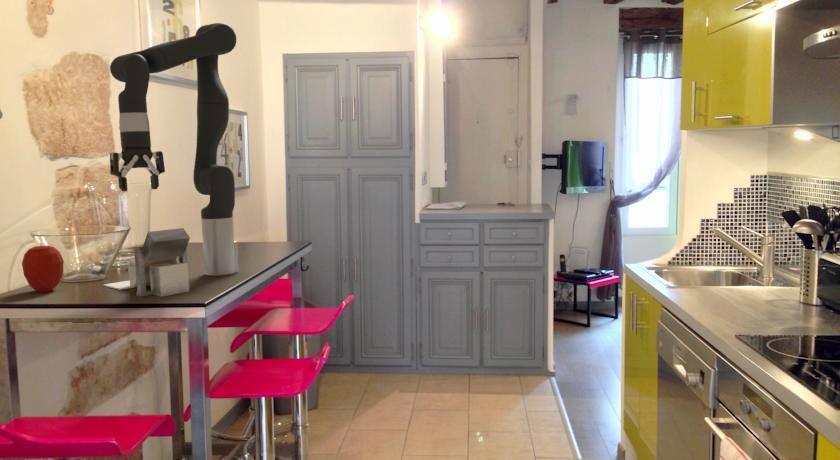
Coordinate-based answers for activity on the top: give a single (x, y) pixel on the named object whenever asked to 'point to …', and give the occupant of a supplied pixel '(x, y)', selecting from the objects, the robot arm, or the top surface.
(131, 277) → the stone block
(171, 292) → the frame
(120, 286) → the mat
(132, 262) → the decorative stone
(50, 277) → the apple
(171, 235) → the trapdoor
